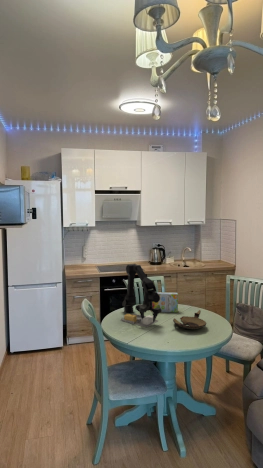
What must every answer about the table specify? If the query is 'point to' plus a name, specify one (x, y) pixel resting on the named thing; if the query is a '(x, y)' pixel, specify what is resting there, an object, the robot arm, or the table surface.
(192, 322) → the oil lamp
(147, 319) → the grey plug
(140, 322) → the organiser
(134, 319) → the amber plug
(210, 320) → the table surface
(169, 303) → the snack box
